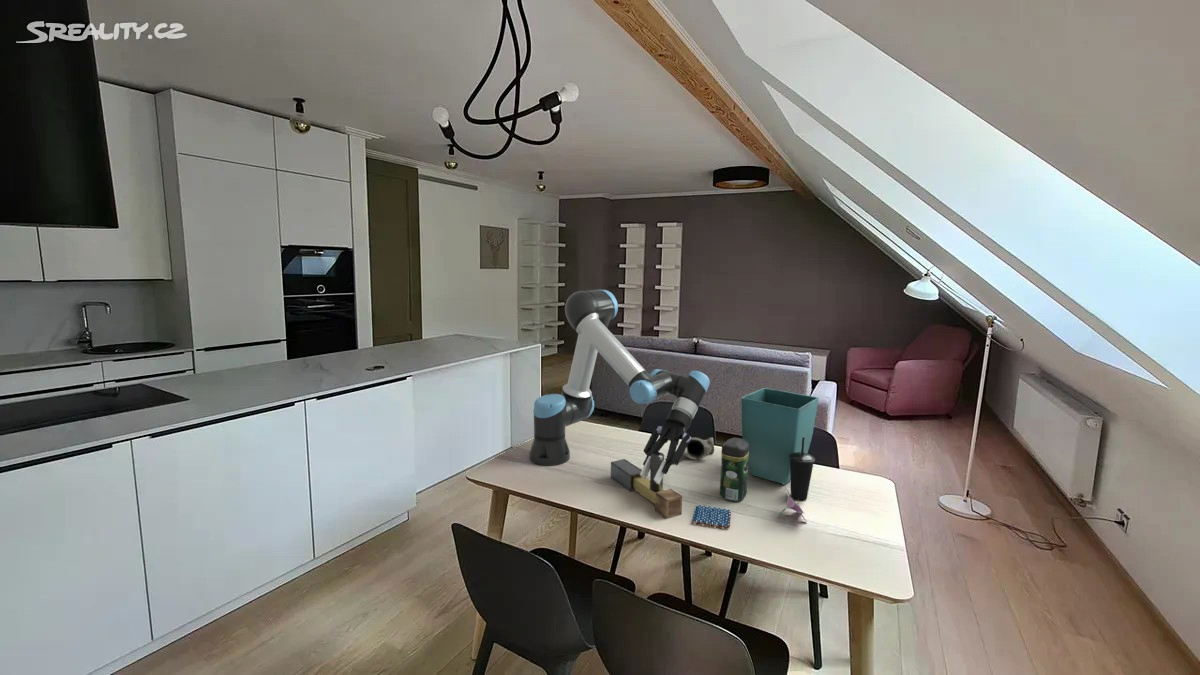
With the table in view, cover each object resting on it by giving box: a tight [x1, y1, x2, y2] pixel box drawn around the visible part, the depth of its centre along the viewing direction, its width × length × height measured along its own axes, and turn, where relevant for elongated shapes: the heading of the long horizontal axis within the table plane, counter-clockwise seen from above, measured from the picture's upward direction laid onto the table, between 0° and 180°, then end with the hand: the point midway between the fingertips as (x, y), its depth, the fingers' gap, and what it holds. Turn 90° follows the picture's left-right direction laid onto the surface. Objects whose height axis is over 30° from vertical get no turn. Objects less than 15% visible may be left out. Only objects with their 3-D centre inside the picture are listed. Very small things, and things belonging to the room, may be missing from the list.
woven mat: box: [691, 504, 732, 531], centre depth 150 cm, size 10×11×2 cm
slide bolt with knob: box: [631, 451, 665, 505], centre depth 160 cm, size 23×4×15 cm, turn 30°
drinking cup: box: [789, 437, 816, 502], centre depth 163 cm, size 8×8×20 cm
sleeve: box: [610, 458, 642, 493], centre depth 172 cm, size 12×6×6 cm, turn 30°
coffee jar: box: [719, 437, 749, 502], centre depth 163 cm, size 10×8×19 cm
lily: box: [777, 481, 808, 524], centre depth 151 cm, size 12×12×10 cm
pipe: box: [682, 437, 715, 461], centre depth 196 cm, size 16×9×15 cm
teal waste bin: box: [740, 387, 819, 485], centre depth 179 cm, size 20×20×28 cm
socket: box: [654, 488, 683, 520], centre depth 153 cm, size 6×6×6 cm
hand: (649, 479), depth 155 cm, fingers open, 4 cm apart
